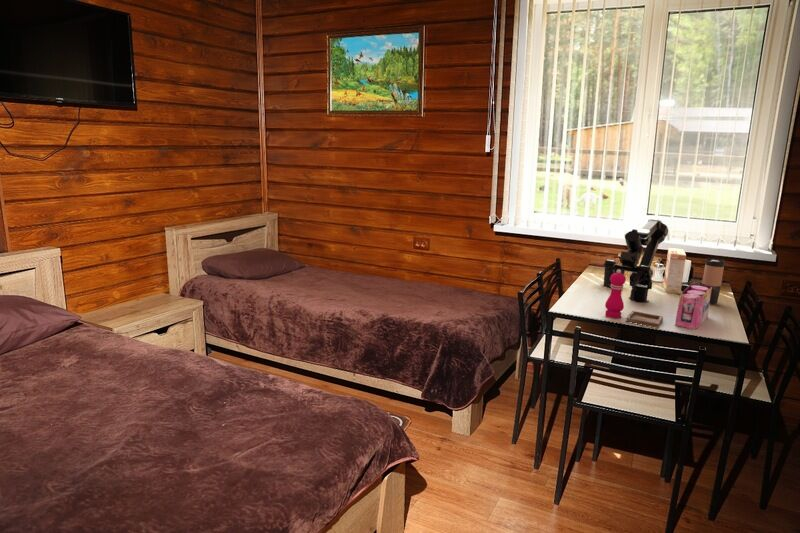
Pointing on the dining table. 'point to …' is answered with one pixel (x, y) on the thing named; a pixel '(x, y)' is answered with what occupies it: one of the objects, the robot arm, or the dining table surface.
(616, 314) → the pepper mill
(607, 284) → the pen holder
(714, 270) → the travel mug
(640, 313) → the walnut tray
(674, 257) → the coffeecake box
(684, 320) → the gum box
